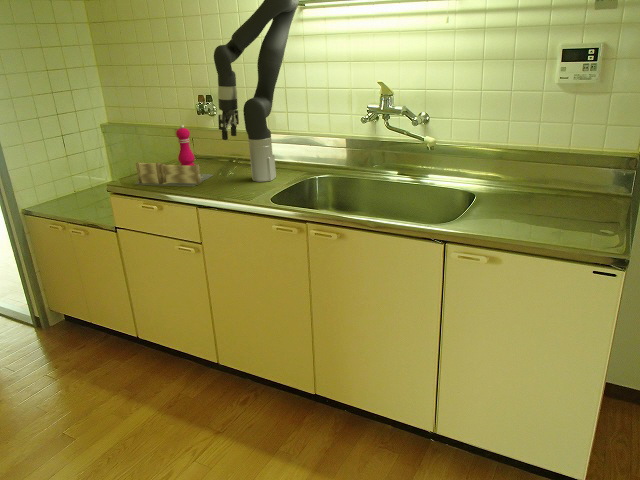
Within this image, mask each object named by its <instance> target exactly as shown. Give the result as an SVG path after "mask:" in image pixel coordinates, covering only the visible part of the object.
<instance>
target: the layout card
mask: <svg viewBox="0 0 640 480" xmlns="http://www.w3.org/2000/svg"><path fill="white" fill-rule="evenodd" d="M213 176H214V174H211V173H210V174H208V173H206V174H205V173H202V174H201V173H200V177H201V183H203V182H204V181H206V180H208V179H210V178H211V177H213ZM134 184H138V186H158V187H159V186H163V187H164V186H166V187H191V188H193V187H195V186H197V185H198V184H197V183H168V182H166V183H162V184H155V183H139V181H136V182H134V183H133V185H134Z"/></svg>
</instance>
